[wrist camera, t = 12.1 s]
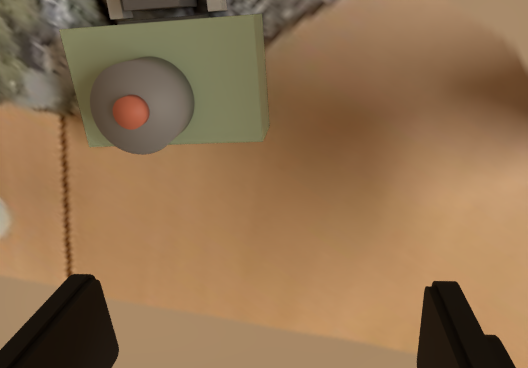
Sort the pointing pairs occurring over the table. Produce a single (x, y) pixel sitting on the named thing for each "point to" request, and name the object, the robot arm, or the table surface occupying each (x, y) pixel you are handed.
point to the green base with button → (170, 79)
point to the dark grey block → (156, 4)
